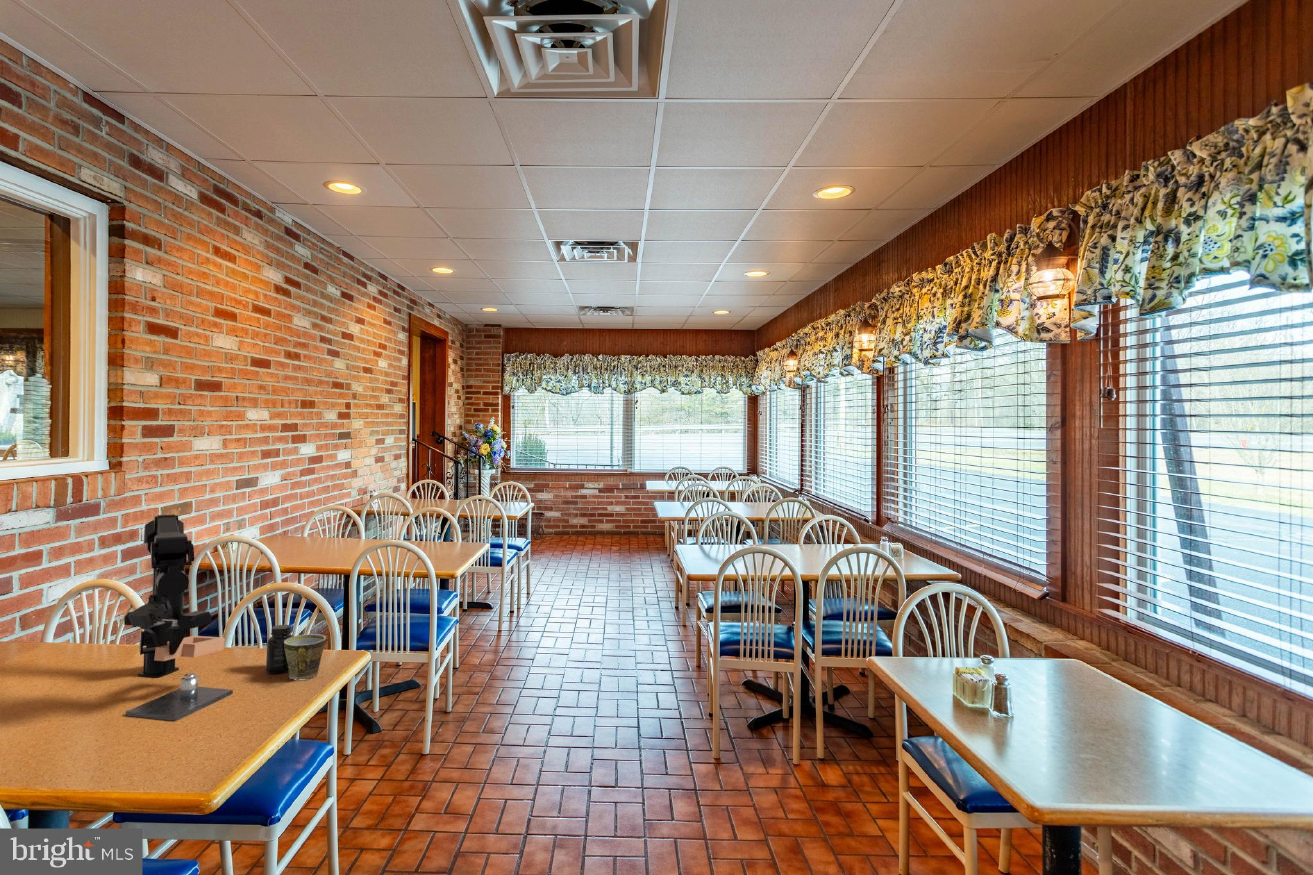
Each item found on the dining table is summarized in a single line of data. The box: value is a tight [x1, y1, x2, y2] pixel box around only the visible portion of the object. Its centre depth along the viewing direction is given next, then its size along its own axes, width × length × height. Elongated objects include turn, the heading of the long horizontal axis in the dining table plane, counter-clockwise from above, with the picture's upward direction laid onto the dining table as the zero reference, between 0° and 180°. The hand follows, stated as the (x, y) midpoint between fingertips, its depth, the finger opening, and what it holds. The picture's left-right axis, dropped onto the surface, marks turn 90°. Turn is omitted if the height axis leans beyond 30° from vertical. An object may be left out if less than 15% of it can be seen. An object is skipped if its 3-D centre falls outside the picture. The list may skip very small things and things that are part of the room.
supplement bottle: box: [265, 624, 295, 675], centre depth 176 cm, size 7×7×12 cm
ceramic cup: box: [284, 633, 327, 680], centre depth 171 cm, size 13×10×10 cm
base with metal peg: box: [125, 672, 234, 722], centre depth 152 cm, size 13×16×6 cm
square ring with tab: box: [154, 635, 225, 661], centre depth 158 cm, size 9×14×3 cm, turn 172°
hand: (167, 654), depth 153 cm, fingers closed on square ring with tab, 2 cm apart
